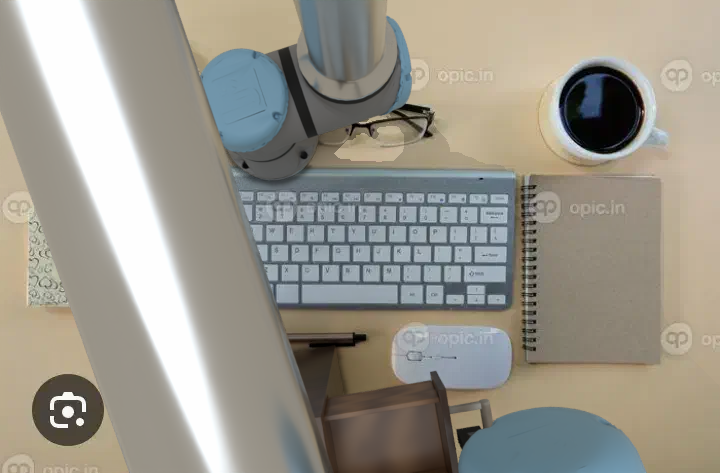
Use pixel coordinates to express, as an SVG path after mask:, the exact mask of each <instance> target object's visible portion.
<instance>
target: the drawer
mask: <svg viewBox="0 0 720 473" xmlns="http://www.w3.org/2000/svg"><path fill="white" fill-rule="evenodd" d="M429 375H430V380H423V381H417V382H412V383H406V384H405V383H404V384H399V385H393V386H387V387H382V388H376V389H370V390H364V391H359V392H358V391H357V392H352V393H347V394H344V395H340V396H334V397H328V398H327V401H326V406H325V411H324V417H323V425H324V431H325V436H326V442H327V448H328V454H329V460H330V464H331V467H332V470H333V473H459V472H458V462H459V458H458V454H457V447H456V441H455V434H454V429H453V423H452V417H451V415H454V414H459V413H461V414H462V413H467V412H473V411H478V410H479V412H480V419H481V424H482V429H485V428H489V427H491V426H492V423H493V421H494V419H493V414H492V413H493V412H492V407H491V401H490V399H488V398H482V399H479V400H478V401H472V402H464V403H460V404H452V405H449V400H448V394H447V389H446V386H445V385H444V383H443V380H442V379H441V377H440V375H439V373H438V371H437V370H432V371H431V370H430V371H429Z"/></svg>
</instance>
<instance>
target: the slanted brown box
mask: <svg viewBox="0 0 720 473" xmlns="http://www.w3.org/2000/svg"><path fill="white" fill-rule="evenodd" d="M293 354H294V357H295V360H296V363H297V366H298V369H299V372H300V375H301V378H302V381H303V384H304V386H305V389H306V392H307V395H308V398H309V401H310V404H311V407H312V410H313V413H314V416H315V419H316V422H317V425H318V428H319V431H320V434H321V437H322V440H323V443H324V446H325V449H326V452H327V455H328V458H329V454H328V448H327V442H326V436H325V431H324V425H323V417H324V411H325V406H326V401H327V398H328V397H334V396H340V395H345V392H344V387H343V381H342V376H341V370H340V364H339V357H338V352H337V347H336V345H335V344H333V345H327V346H321V347H317V348H310V349H305V350H298V351H293ZM329 461H330V460H329Z"/></svg>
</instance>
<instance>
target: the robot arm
mask: <svg viewBox="0 0 720 473" xmlns="http://www.w3.org/2000/svg"><path fill="white" fill-rule="evenodd" d="M292 2H293V4H294V7H295V12H296V14H297V18H298V22H299V25H300V27H301V30H300V32H299V35H298V39H297V43H294V44H291V45H288V46H285V47H282V48H279V49H275V50H272V51H269V52H266V53H263V52H262V51H257V50H254V49H251V48H232V49H228V50H226V51H224V52H221V53H220V54H218V55H216V56H215V57H213V58H212V59H211V60H210V61H209V62H208V63H207V64H206V65H205V67H204V68H203V69H202V71H201V73H200V71H199V68H198V65H197V63H196V62H197V61H196V59H195V56H194V53H193V51H192V47H191V45H190V42H189V38H188V36H187V33H186V30H185V27H184V24H183V21H182V18H181V15H180V12H179V9H178V6H177V3H176V0H0V115H1V118H2V120H3V124H4V126H5V128H6V132H7V134H8V137H9V140H10V143H11V146H12V149H13V152H14V154H15V157H16V159H17V163H18V164H19V165H18V166H19V168H20V171H21V173H22V177H23V180H24V183H25V185H26V187H27V190H28V194H29V196H30V199H31V202H32V205H33V207H34V210H35V214H36V215H37V219H38V221H39V224H40V227H41V230H42V233H43V235H44V238H45V241H46V244H47V247H48V249H49V252H50V255H51V258H52V261H53V263H54V266H55V269H56V272H57V275H58V277H59V280H60V283H61V286H62V289H63V292H64V294H65V297H66V300H67V302H68V305H69V308H70V311H71V314H72V316H73V320H74V322H75V325H76V327H77V328H76V329H77V331H78V334H79V336H80V339H81V342H82V344H83V348H84V351H85V353H86V357H87V359H88V362H89V365H90V367H91V370H92V373H93V376H94V379H95V381H96V384H97V385H98V389H99V392H100V395H101V398H102V400H103V403H104V407H105V409H106V412H107V415H108V417H109V418H108V419H109V420H110V423H111V426H112V429H113V432H114V434H115V437H116V439H117V443H118V445H119V448H120V451H121V454H122V456H123V459H124V462H125V465H126V467H127V470H128V473H333V470H332V467H331V464H330V461H329V458H328V455H327V452H326V449H325V446H324V443H323V440H322V437H321V434H320V431H319V428H318V425H317V422H316V419H315V416H314V413H313V410H312V407H311V404H310V401H309V398H308V395H307V392H306V389H305V386H304V384H303V381H302V378H301V375H300V372H299V369H298V366H297V363H296V360H295V357H294V354H293V352H294V351H293V348H292V345H291V342H290V338H289V336H288V333H287V330H286V327H285V324H284V321H283V319H282V316H281V313H280V309H279V306H278V303H277V301H276V297H275V295H274V292H273V289H272V285H271V283H270V282H271V281H270V279H269V276H268V274H267V271H266V267H265V265H264V262H263V259H262V255H261V252H260V249H259V247H258V244H257V241H256V238H255V235H254V232H253V229H252V226H251V224H250V220H249V217H248V214H247V211H246V208H245V206H244V202H243V199H242V196H241V193H240V190H239V186H238V185H237V181H236V179H235V178H236V177H235V176H234V173H233V169H232V166H231V164H230V161H229V158H228V155H229V156H230V159H231V160H232V161H233V162H234V164H235V165H236V166H237V167H238V168H240V169H241V170H242V171H244V172H245V173H247V174H249V175H250V176H252V177H254V178H258V179H260V180H264V181H282V180H286V179H289V178H291V177H293V176H295V175H297V174H299V173H301V171H302V170H303V169H305V168H306V167H307V166H308V165H309V163H310V162H311V161H312V159H313V158H314V156H315V153H316V151H317V149H318V145H319V137H320V136H321V135H323V134H326V133H329V132H332V131H336V130H338V129H341V128H345V127H347V126H351V125H353V124H357V123H361V122H363V121H366V120H369V119H372V118H375V117H383V116H385V115H389V114H390V113H392V112H393V111H395V110H398V109H400V108H402V107H403V106H404V105H405V104H407V102H408V101H409V99H410V96H411V93H412V87H413V78H412V74H411V73H412V72H413V71H412V61H411V56H410V52H409V47H408V44H407V41H406V38H405V36H404V33H403V30H402V28H401V27H400V25H399V24H398V22H397V21H396V20H395V19H394V18H392V17H390V16H389V15H387V10H388V0H292ZM226 151H227V152H226ZM227 153H228V154H227ZM455 431H456V437H457V443H458V445H459V447H460V449H461V451H460V453H459V457H458V472H459V473H648V472H647V470H646V468H645V464H644V463H643V460H642V458H641V456H640V453H639V451H638V449H637V447H636V446H635V445H634V443H633V442H632V440H631V439H630V437H629V436H627V435H626V434H625V432H624V431H623V430H622V429H621V428H618V427H617V426H616V425H615V424H613V423H611V422H610V421H609V420H607V419H605V418H604V417H601V416H600V415H597V414H595V413H592V412H590V411H586V410H581V409H578V408H577V409H576V408H571V407H564V406H540V407H531V408H527V409H526V408H525V409H520V410H516V411H513V412H510V413H507V414H503V415H502V416H499V417H497V418H495V419H493V423H492V426H491V427H489V428H485V429H483V428H482V427H481V425H480V424H479V425H471V426H467V427H460V428H456V429H455Z"/></svg>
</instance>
